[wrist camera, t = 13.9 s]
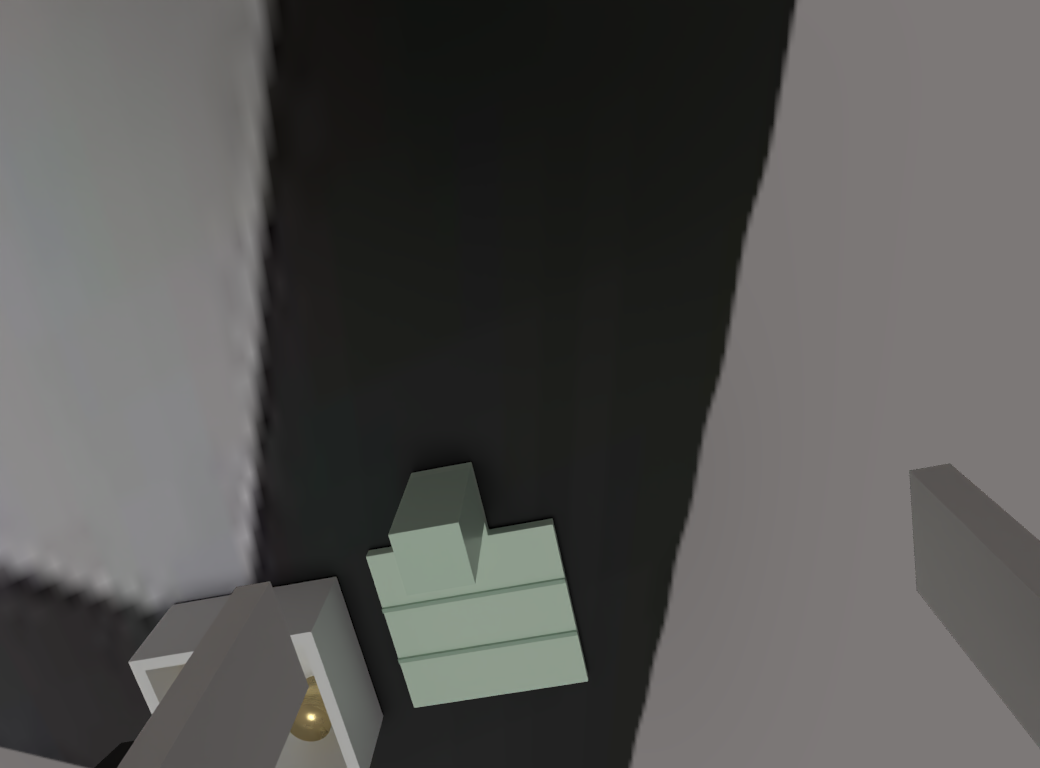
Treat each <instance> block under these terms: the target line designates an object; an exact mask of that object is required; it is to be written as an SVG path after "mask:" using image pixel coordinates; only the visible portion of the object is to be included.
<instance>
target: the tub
mask: <svg viewBox="0 0 1040 768" xmlns="http://www.w3.org/2000/svg"><path fill="white" fill-rule="evenodd" d="M273 590H274V593H275V596H276V598H277V601H278V604H279V607H280V609H281V612H282V615H283V618H284V620H285V623H286V626H287V628H288V631H289V634H290V637H291V639H292V642H293V645H294V648H295V650H296V653H297V656H298V658H299V661H300V664H301V667H302V669H303V672H304V675H305V678H306V679H307V678H308V677H311V676H314V677H315V680H316V683H317V686H318V688H319V691H320V694H321V697H322V699H323V702H324V705H325V708H326V710H327V713H328V716H329V719H330V721H331V724H332V726H331V728H330V731H329V733H328V734H327V736H326V737H324V738H323V739H321V740H318V741H313V742H309V741H303V740H301V739H298V738H297V737H295V736H294V735H293V734H291V732H290V733H289V735H288V738H287V740H286V743H285V745H284V747H283V750H282V752H281V755H280V757H279V759H278V762H277V764H276V767H275V768H369V767H370V763H371V760H372V756H373V752H374V749H375V745H376V741H377V738H378V734H379V730H380V727H381V723H382V719H383V714H382V711H381V708H380V705H379V702H378V699H377V696H376V693H375V690H374V687H373V684H372V681H371V678H370V675H369V672H368V669H367V666H366V663H365V660H364V657H363V654H362V651H361V648H360V645H359V642H358V639H357V636H356V633H355V631H354V628H353V625H352V622H351V619H350V616H349V613H348V610H347V607H346V604H345V601H344V598H343V595H342V592H341V589H340V586H339V583H338V580H337V577H331V578H325V579H319V580H314V581H308V582H302V583H296V584H291V585H285V586H279V587H273ZM230 596H231V595H227V596H221V597H215V598H210V599H204V600H198V601H192V602H187V603H181V604H175V605H172V606H171V607H170V608H169V610H168V611H167V612H166V614H165V615H164V616H163V618H162V619H161V620H160V621H159V623H158V624H157V625H156V627H155V628H154V629H153V631H152V632H151V633H150V634H149V636H148V637H147V638H146V640H145V641H144V642H143V644H142V645H141V646H140V648H139V649H138V650H137V651H136V653H135V654H134V655H133V657H132V658H131V659H130V661H129V665H130V667H131V669H132V671H133V674H134V676H135V678H136V680H137V682H138V685H139V687H140V689H141V691H142V693H143V696H144V698H145V700H146V702H147V705H148V707H149V709H150V711H151V713H152V714H153V712H154V711H155V709H156V708H157V706H158V705H159V703H160V702H161V700H162V699H163V697H164V696H165V694H166V693H167V691H168V690H169V688H170V687H171V685H172V684H173V682H174V681H175V679H176V678H177V676H178V674H179V673H180V671H181V670H182V668H183V667H184V665H185V664H186V662H187V661H188V659H189V658H190V656H191V655H192V653H193V652H194V650H195V649H196V647H197V646H198V644H199V643H200V641H201V640H202V638H203V637H204V635H205V634H206V632H207V631H208V629H209V627H210V626H211V624H212V623H213V621H214V620H215V618H216V617H217V615H218V614H219V612H220V611H221V609H222V608H223V606H224V605H225V603H226V602H227V600H228V599H229V597H230Z"/></svg>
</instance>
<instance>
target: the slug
mask: <svg viewBox="0 0 1040 768" xmlns="http://www.w3.org/2000/svg"><path fill="white" fill-rule="evenodd" d="M306 680H307V683H308V686H309V687H308V690H307V692H306V695H305V697H304V699H303V702H302V704H301V707H300V709H299V711H298V714H297V716H296V719H295V721H294V723H293V726H292V728H291V731H290V732H291V734H293V735H294V736H295V737H297V738H298V739H301V740H303V741H309V742H313V741H318V740H321V739H323V738H324V737H326V736H327V734H328V733H329V731H330V728H331V726H332V724H331V721H330V719H329V716H328V713H327V710H326V708H325V705H324V702H323V699H322V697H321V694H320V691H319V688H318V686H317V683H316V680H315V677H314V676H311V677H308V678H307V679H306Z"/></svg>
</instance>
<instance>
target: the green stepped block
mask: <svg viewBox="0 0 1040 768" xmlns="http://www.w3.org/2000/svg"><path fill="white" fill-rule="evenodd" d="M388 535H389V539H390V542H391V545H392V546H391V547H386V548H380V549H374V550H369V551H368V553H367V556H366V558H367V561H368V564H369V568H370V571H371V574H372V577H373V580H374V583H375V586H376V590H377V593H378V596H379V599H380V602H381V605H382V612H383V613H384V615H385V618H386V621H387V624H388V627H389V630H390V633H391V637H392V640H393V643H394V646H395V649H396V652H397V655H398V662H399V664H400V665H401V668H402V671H403V674H404V677H405V680H406V684H407V687H408V690H409V693H410V696H411V699H412V702H413V706H414V708H416V707H423V706H429V705H436V704H443V703H449V702H456V701H462V700H469V699H475V698H482V697H488V696H495V695H501V694H508V693H515V692H521V691H528V690H534V689H541V688H547V687H554V686H560V685H567V684H573V683H580V682H586V681H588V672H587V668H586V664H585V659H584V655H583V650H582V646H581V641H580V637H579V633H578V628H577V624H576V619H575V615H574V611H573V606H572V602H571V597H570V593H569V588H568V584H567V580H566V575H565V571H564V566H563V562H562V557H561V553H560V549H559V544H558V540H557V535H556V531H555V527H554V522H553V518H552V519H546V520H540V521H534V522H529V523H523V524H517V525H512V526H506V527H500V528H494V529H489V528H488V524H487V520H486V516H485V512H484V509H483V505H482V501H481V497H480V493H479V489H478V485H477V481H476V477H475V474H474V470H473V466H472V462H468V463H463V464H458V465H452V466H447V467H441V468H436V469H430V470H425V471H419V472H414V473H411V475H410V478H409V481H408V483H407V486H406V489H405V491H404V494H403V497H402V500H401V502H400V505H399V508H398V510H397V513H396V516H395V518H394V521H393V524H392V526H391V529H390V532H389V534H388Z"/></svg>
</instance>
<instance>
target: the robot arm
mask: <svg viewBox="0 0 1040 768" xmlns="http://www.w3.org/2000/svg"><path fill="white" fill-rule="evenodd" d="M909 473H910V489H911V506H912V522H913V539H914V555H915V570H916V586H917V591H918V593H919V594H920V595H921V596H922V598H923V599H924V600H925V602H926V603H927V604H928V606H929V607H930V608H931V609H932V611H933V612H934V613H935V615H936V616H937V617H938V618H939V620H940V621H941V622H942V624H943V625H944V626H945V627H946V629H947V630H948V631H949V633H950V634H951V635H952V636H953V638H954V639H955V640H956V642H957V643H958V644H959V645H960V647H961V648H962V649H963V651H964V652H965V653H966V654H967V656H968V657H969V658H970V660H971V661H972V662H973V663H974V665H975V666H976V667H977V669H978V670H979V671H980V672H981V674H982V675H983V676H984V677H985V679H986V680H987V681H988V682H989V684H990V685H991V686H992V688H993V689H994V690H995V691H996V693H997V694H998V695H999V697H1000V698H1001V699H1002V700H1003V702H1004V703H1005V704H1006V706H1007V707H1008V708H1009V710H1010V711H1011V712H1012V713H1013V715H1014V716H1015V717H1016V719H1017V720H1018V721H1019V722H1020V724H1021V725H1022V726H1023V728H1024V729H1025V730H1026V731H1027V732H1028V734H1029V735H1030V737H1031V738H1032V739H1033V740H1034V742H1035V743H1036V744H1037V745H1038V747H1039V748H1040V541H1039V540H1038V539H1037V538H1036V537H1035V536H1033V535H1032V534H1031V533H1030V532H1029V531H1028V530H1026V529H1025V528H1024V527H1023V526H1022V525H1021V524H1019V523H1018V522H1017V521H1016V520H1015V519H1014V518H1013V517H1011V516H1010V515H1009V514H1008V513H1007V512H1006V511H1004V510H1003V509H1002V508H1001V507H1000V506H999V505H998V504H996V503H995V502H994V501H993V500H992V499H991V498H989V497H988V496H987V495H986V494H985V493H984V492H982V491H981V490H980V489H979V488H978V487H977V486H975V485H974V484H973V483H972V482H971V481H970V480H968V479H967V478H966V477H965V476H964V475H962V474H961V473H960V472H959V471H958V470H957V469H956V468H955V467H953V466H952V465H951V464H945V465H939V466H933V467H927V468H921V469H916V470H910V472H909ZM308 687H309V686H308V683H307V680H306V678H305V675H304V672H303V669H302V667H301V664H300V661H299V658H298V656H297V653H296V650H295V648H294V645H293V642H292V639H291V637H290V634H289V631H288V628H287V626H286V623H285V620H284V618H283V615H282V612H281V609H280V607H279V604H278V601H277V598H276V596H275V593H274V590H273V588H272V585H271V582H270V581H269V582H263V583H258V584H252V585H246V586H240V587H236V588H235V590H234V591H233V593H232V594H231V596H230V597H229V599H228V600H227V602H226V603H225V605H224V606H223V608H222V609H221V611H220V612H219V614H218V615H217V617H216V618H215V620H214V621H213V623H212V624H211V626H210V627H209V629H208V631H207V632H206V634H205V635H204V637H203V638H202V640H201V641H200V643H199V644H198V646H197V647H196V649H195V650H194V652H193V653H192V655H191V656H190V658H189V659H188V661H187V662H186V664H185V665H184V667H183V668H182V670H181V671H180V673H179V674H178V676H177V678H176V679H175V681H174V682H173V684H172V685H171V687H170V688H169V690H168V691H167V693H166V694H165V696H164V697H163V699H162V700H161V702H160V703H159V705H158V706H157V708H156V709H155V711H154V712H153V714H152V715H151V717H150V718H149V720H148V721H147V723H146V725H145V726H144V728H143V729H142V731H141V732H140V734H139V735H138V737H137V738H136V740H135V741H131V742H124V743H121V744H120V745H118V746H117V747H116V748H115V749H114V750H113V751H112V752H111V753H110V754H109V755H108V756H107V757H105V758H104V759H103V760H102V761H101V762H100V763H99V764H98V765H97V766H96V767H95V768H275V767H276V764H277V762H278V759H279V757H280V755H281V752H282V750H283V747H284V745H285V743H286V740H287V738H288V735H289V733H290V731H291V728H292V726H293V723H294V721H295V719H296V716H297V714H298V711H299V709H300V707H301V704H302V702H303V699H304V697H305V695H306V692H307V690H308Z"/></svg>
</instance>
